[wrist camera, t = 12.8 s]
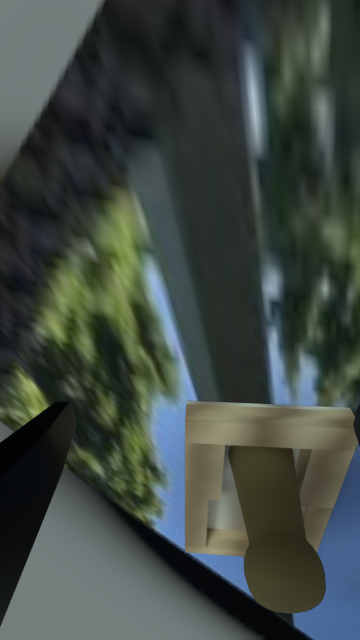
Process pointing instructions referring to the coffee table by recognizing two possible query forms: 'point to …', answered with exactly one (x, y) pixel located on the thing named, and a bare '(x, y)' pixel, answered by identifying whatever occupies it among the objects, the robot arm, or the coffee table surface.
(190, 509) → the keyhole plate
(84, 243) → the coffee table surface
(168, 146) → the coffee table surface
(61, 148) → the coffee table surface
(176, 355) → the coffee table surface
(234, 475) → the cork
